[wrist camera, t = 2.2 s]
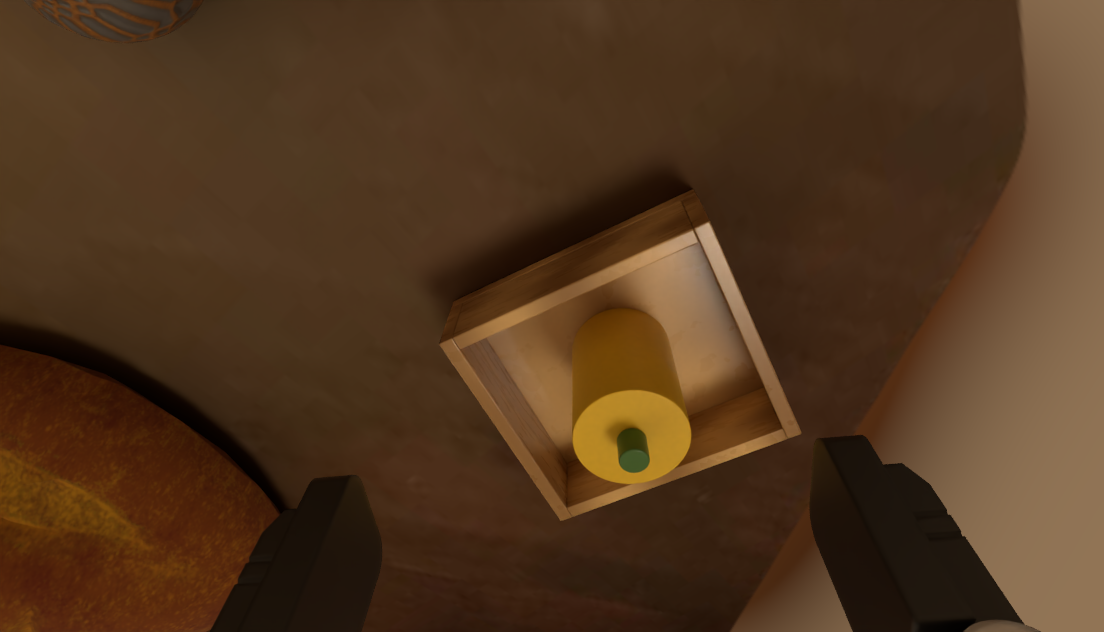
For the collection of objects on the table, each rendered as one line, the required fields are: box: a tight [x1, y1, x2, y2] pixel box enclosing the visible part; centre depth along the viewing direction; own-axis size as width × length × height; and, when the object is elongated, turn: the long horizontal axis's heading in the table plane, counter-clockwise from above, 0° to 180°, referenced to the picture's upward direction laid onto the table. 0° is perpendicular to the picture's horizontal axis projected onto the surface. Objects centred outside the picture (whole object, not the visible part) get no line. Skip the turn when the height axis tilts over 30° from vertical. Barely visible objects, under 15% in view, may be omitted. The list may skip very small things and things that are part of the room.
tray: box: [439, 189, 801, 521], centre depth 37 cm, size 15×14×5 cm
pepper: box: [572, 308, 691, 484], centre depth 35 cm, size 6×6×10 cm
